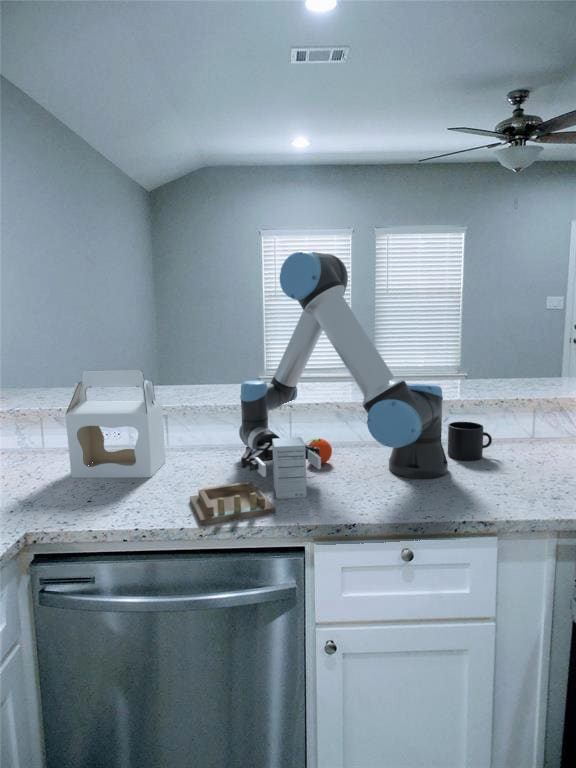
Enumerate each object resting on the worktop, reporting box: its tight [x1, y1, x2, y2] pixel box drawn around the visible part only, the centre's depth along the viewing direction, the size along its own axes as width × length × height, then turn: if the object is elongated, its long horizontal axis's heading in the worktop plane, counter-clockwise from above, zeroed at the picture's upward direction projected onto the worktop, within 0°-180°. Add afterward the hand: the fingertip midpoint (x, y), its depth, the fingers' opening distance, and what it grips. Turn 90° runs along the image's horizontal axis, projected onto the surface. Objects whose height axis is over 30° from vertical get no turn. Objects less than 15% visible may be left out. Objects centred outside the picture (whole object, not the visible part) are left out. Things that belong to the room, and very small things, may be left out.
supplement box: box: [272, 436, 308, 500], centre depth 120 cm, size 7×7×13 cm
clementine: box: [307, 438, 333, 465], centre depth 142 cm, size 8×7×7 cm
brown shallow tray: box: [189, 481, 276, 526], centre depth 113 cm, size 16×14×5 cm
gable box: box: [65, 369, 166, 479], centre depth 139 cm, size 22×13×28 cm, turn 87°
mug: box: [447, 421, 493, 462], centre depth 145 cm, size 9×12×9 cm
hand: (292, 467), depth 117 cm, fingers open, 13 cm apart
